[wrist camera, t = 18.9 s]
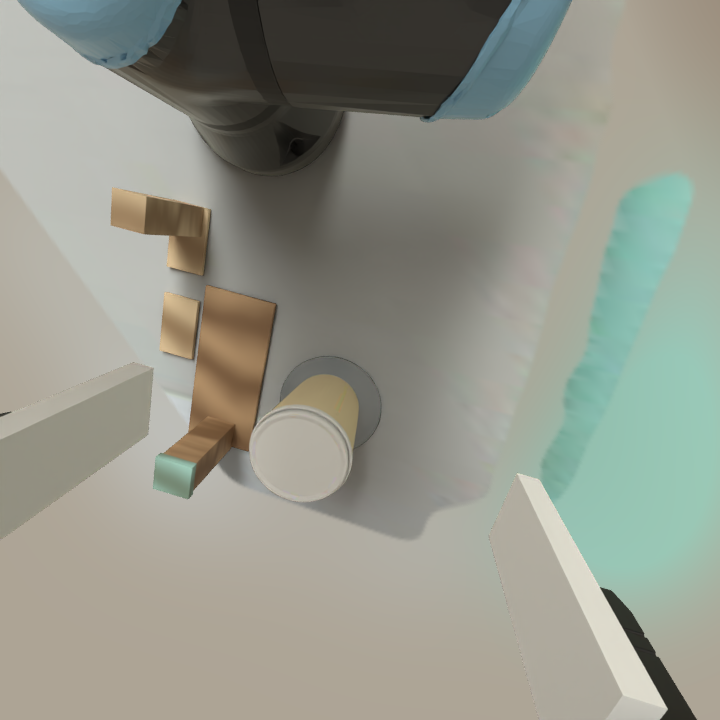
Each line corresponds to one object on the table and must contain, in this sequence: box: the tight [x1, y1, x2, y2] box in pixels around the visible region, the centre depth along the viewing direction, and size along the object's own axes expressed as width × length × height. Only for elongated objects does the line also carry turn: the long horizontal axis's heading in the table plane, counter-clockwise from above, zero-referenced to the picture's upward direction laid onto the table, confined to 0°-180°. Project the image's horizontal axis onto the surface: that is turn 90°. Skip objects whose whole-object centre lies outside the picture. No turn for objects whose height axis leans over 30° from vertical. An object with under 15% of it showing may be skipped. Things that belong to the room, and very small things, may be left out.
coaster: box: [280, 356, 381, 449], centre depth 44 cm, size 12×12×1 cm
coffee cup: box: [249, 374, 359, 502], centre depth 38 cm, size 9×9×12 cm
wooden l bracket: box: [153, 285, 276, 499], centre depth 40 cm, size 19×8×10 cm, turn 166°
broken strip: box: [111, 187, 211, 359], centre depth 38 cm, size 17×4×10 cm, turn 166°
